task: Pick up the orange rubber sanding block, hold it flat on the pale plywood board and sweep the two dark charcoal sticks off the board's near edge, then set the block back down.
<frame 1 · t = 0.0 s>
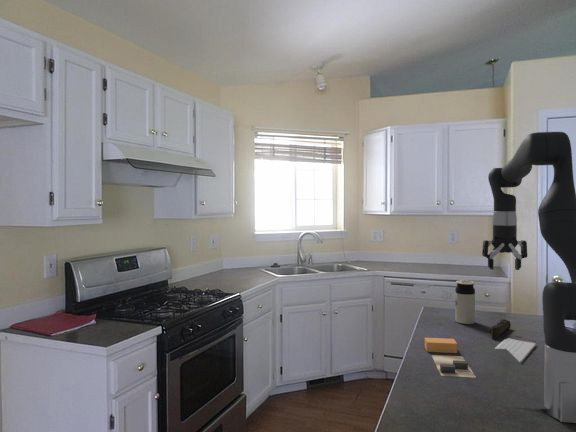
hand: (504, 269, 148), 29 cm above the countertop, tool pointing down, fingers open, 8 cm apart
plywood board: (452, 369, 132), on the countertop
charcoal stick A: (460, 368, 130), point 1 cm above the countertop, touching plywood board
travel mug: (465, 322, 184), on the countertop
sanding block: (440, 354, 146), on the countertop
charcoal stick B: (447, 371, 127), point 1 cm above the countertop, touching plywood board
baseboard: (506, 355, 146), on the countertop
hand tool: (500, 334, 168), on the countertop
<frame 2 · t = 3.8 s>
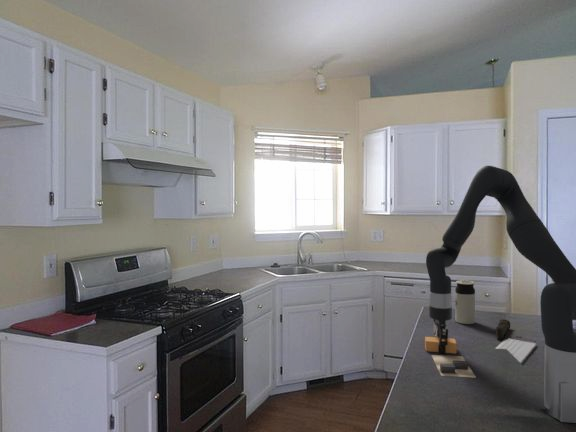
hand: (440, 352, 146), 1 cm above the countertop, tool pointing down, fingers closed on sanding block, 5 cm apart
sanding block: (440, 354, 146), on the countertop, touching gripper
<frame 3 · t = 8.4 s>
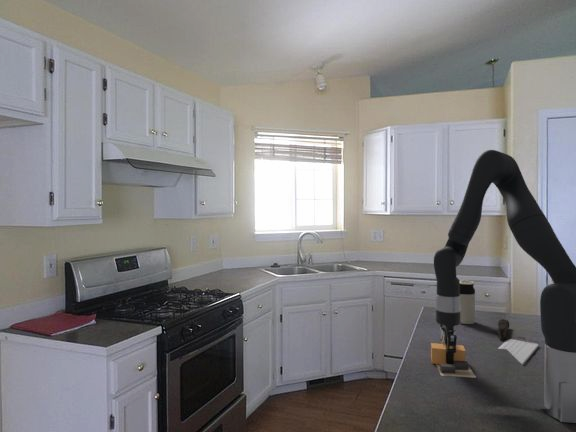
hand: (447, 360, 135), 2 cm above the countertop, tool pointing down, fingers closed on sanding block, 5 cm apart
charcoal stick A: (460, 368, 130), point 2 cm above the countertop, touching gripper, plywood board
sanding block: (447, 362, 135), point 2 cm above the countertop, touching gripper
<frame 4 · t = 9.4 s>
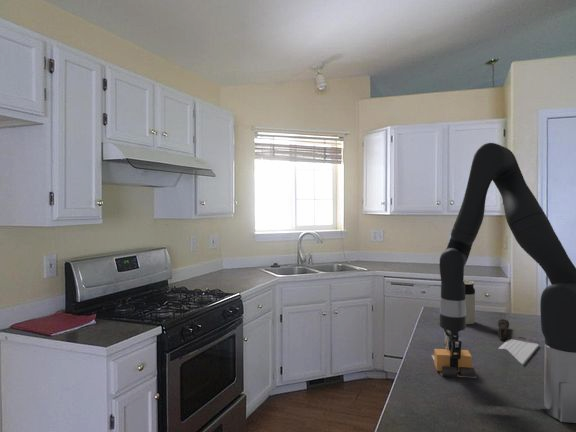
hand: (451, 366, 129), 3 cm above the countertop, tool pointing down, fingers closed on sanding block, 5 cm apart
charcoal stick A: (467, 375, 125), point 2 cm above the countertop, touching sanding block
sanding block: (452, 368, 129), point 2 cm above the countertop, touching charcoal stick A, gripper
charcoal stick B: (449, 374, 125), point 2 cm above the countertop, tilted 25°, touching gripper, plywood board
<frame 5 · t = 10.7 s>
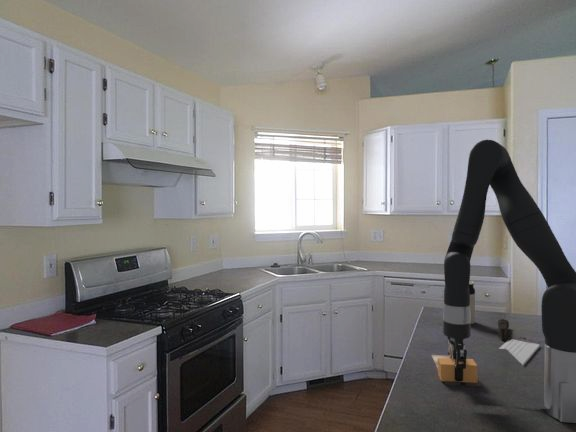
hand: (456, 376, 122), 2 cm above the countertop, tool pointing down, fingers closed on sanding block, 5 cm apart
charcoal stick A: (472, 385, 119), point 1 cm above the countertop, tilted 90°, touching sanding block
sanding block: (457, 378, 122), point 2 cm above the countertop, touching charcoal stick A, gripper
charcoal stick B: (451, 384, 120), point 1 cm above the countertop, tilted 91°
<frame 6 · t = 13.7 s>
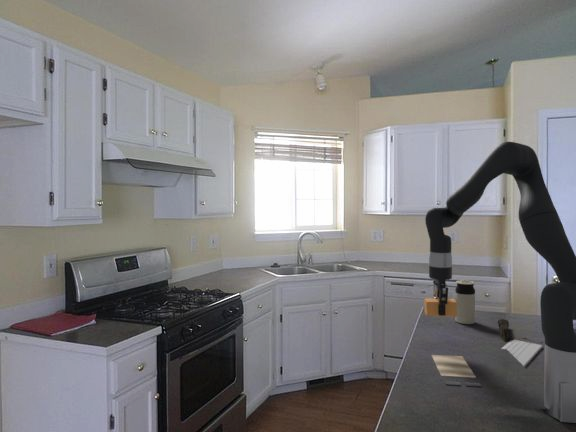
hand: (440, 312, 146), 15 cm above the countertop, tool pointing down, fingers closed on sanding block, 5 cm apart
charcoal stick A: (472, 386, 119), point 1 cm above the countertop, tilted 90°
sanding block: (440, 314, 146), point 14 cm above the countertop, touching gripper
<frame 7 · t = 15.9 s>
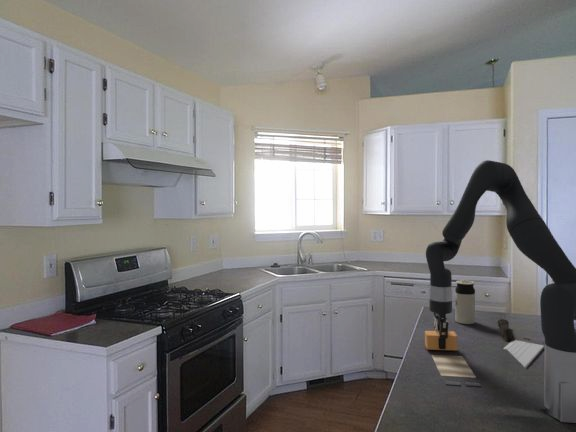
hand: (440, 345, 146), 3 cm above the countertop, tool pointing down, fingers closed on sanding block, 5 cm apart
sanding block: (440, 347, 146), point 2 cm above the countertop, touching gripper
when the fingers open (2 cm above the countertop, at t = 16.6 s): sanding block drops 1 cm, on the countertop.
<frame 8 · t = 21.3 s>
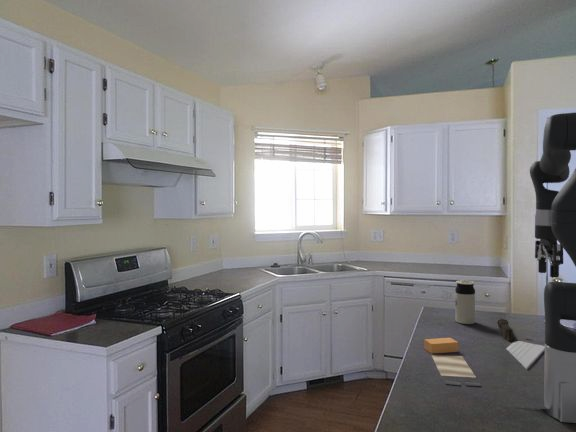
hand: (548, 275, 132), 30 cm above the countertop, tool pointing down, fingers open, 8 cm apart
sanding block: (441, 354, 146), on the countertop
at the end: charcoal stick A inside the target area (5.5 cm from its centre), point 0.8 cm above the countertop; charcoal stick B inside the target area (4.3 cm from its centre), point 0.8 cm above the countertop; the gripper is holding nothing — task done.
